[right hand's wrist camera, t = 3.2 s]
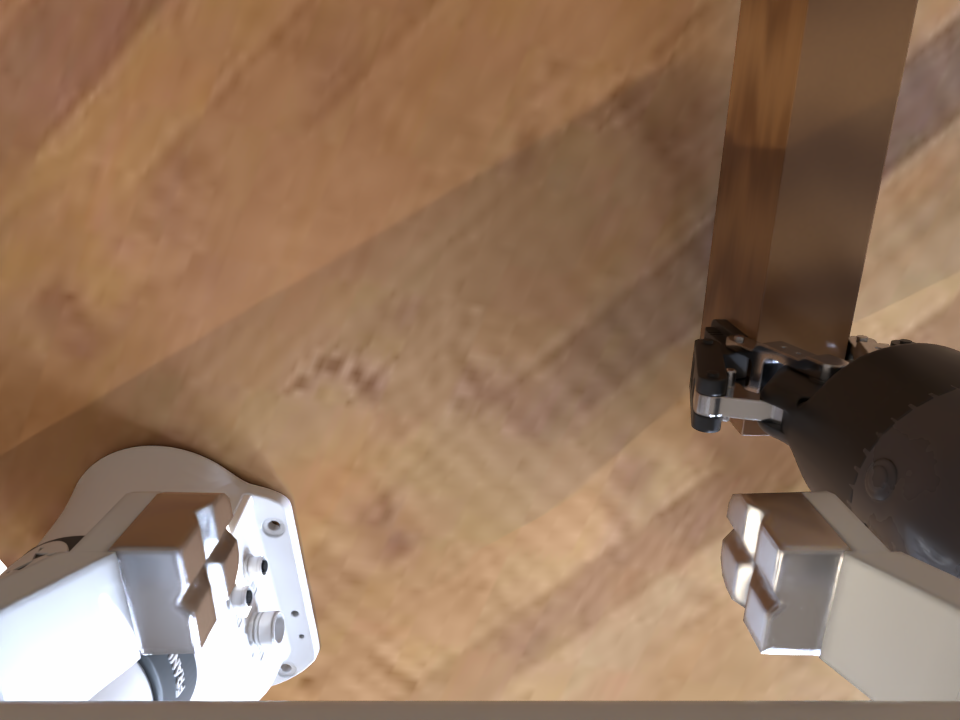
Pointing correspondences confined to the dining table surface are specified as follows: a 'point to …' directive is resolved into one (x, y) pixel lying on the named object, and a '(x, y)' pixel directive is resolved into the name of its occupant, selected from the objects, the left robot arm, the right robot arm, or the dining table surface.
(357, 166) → the dining table surface
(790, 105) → the bar
